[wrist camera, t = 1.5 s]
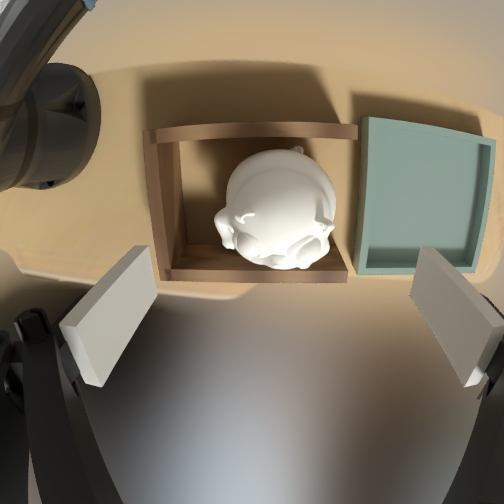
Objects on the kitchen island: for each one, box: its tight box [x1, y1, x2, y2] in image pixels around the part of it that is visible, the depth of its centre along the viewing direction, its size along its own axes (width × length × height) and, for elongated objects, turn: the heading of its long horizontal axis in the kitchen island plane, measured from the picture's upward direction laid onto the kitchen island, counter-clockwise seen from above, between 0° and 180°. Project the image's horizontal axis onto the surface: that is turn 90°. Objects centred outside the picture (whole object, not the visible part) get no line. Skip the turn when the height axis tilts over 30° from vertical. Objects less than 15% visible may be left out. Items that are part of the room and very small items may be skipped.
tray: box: [352, 117, 496, 275], centre depth 27 cm, size 16×16×2 cm
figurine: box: [214, 146, 336, 269], centre depth 24 cm, size 10×10×12 cm
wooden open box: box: [143, 122, 358, 283], centre depth 27 cm, size 17×14×6 cm
